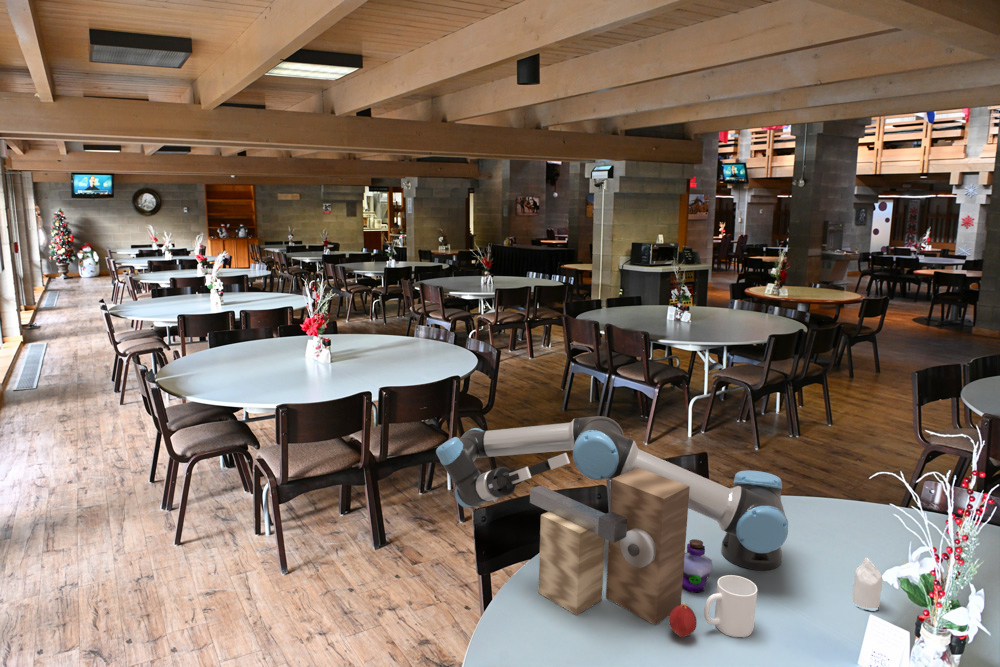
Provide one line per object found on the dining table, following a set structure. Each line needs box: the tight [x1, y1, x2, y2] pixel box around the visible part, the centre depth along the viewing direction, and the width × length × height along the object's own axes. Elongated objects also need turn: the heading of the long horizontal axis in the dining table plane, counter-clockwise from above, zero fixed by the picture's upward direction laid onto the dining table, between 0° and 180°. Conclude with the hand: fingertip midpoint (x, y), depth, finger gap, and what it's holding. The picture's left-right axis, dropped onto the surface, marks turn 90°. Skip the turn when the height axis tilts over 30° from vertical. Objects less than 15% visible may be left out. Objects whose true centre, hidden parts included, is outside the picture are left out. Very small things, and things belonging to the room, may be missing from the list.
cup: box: [703, 574, 758, 638], centre depth 149 cm, size 8×12×10 cm
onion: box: [668, 602, 697, 638], centre depth 146 cm, size 6×6×8 cm
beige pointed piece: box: [851, 557, 883, 608], centre depth 159 cm, size 6×12×6 cm
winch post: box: [605, 468, 690, 626], centre depth 155 cm, size 14×13×30 cm
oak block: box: [538, 511, 606, 616], centre depth 159 cm, size 12×9×20 cm
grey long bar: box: [529, 485, 627, 543], centre depth 156 cm, size 26×4×4 cm, turn 42°
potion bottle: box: [682, 539, 713, 594], centre depth 165 cm, size 9×9×12 cm
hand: (548, 465), depth 164 cm, fingers open, 13 cm apart
